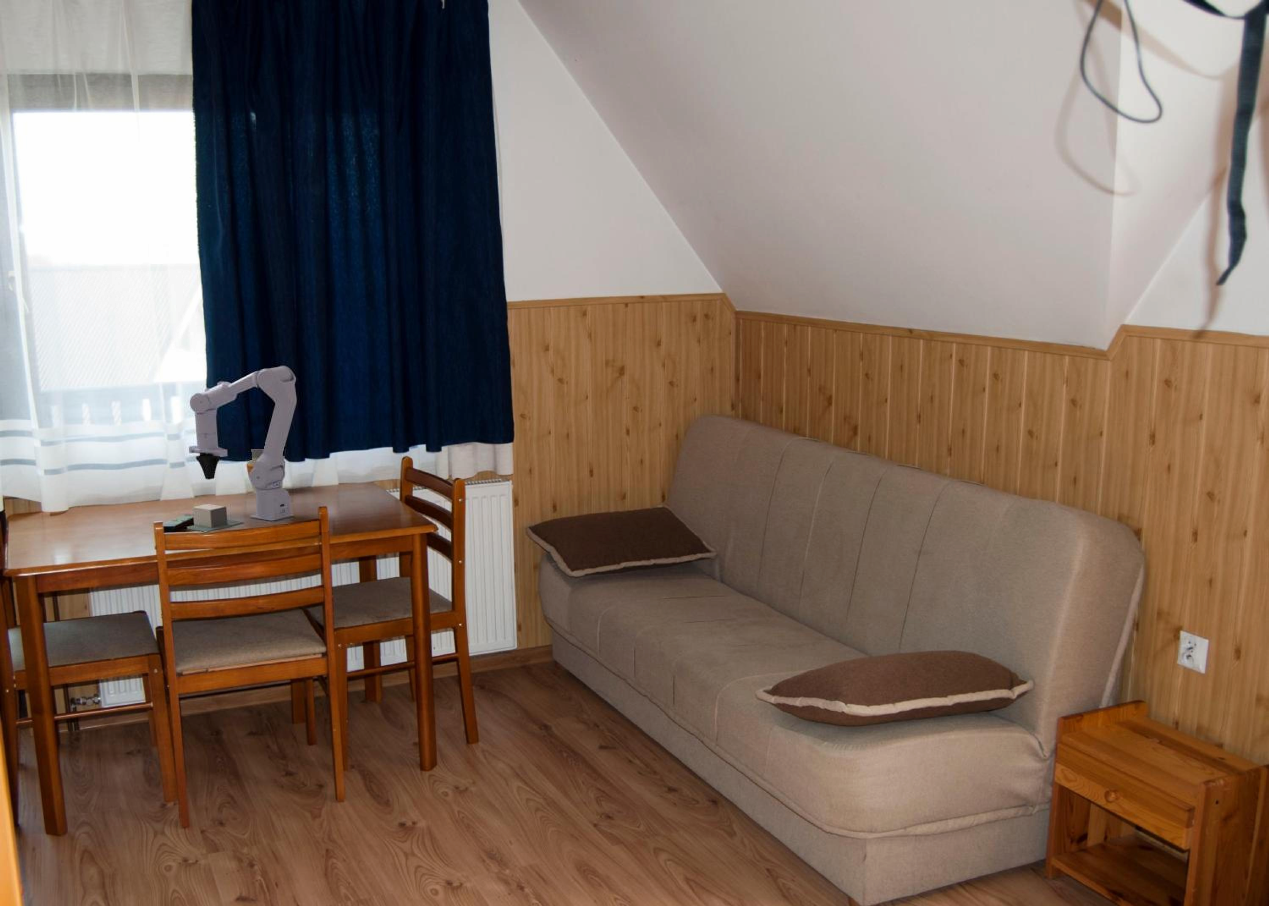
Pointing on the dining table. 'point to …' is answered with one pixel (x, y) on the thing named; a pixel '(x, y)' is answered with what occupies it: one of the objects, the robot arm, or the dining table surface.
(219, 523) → the gray block
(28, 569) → the dining table surface
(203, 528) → the dice mat
